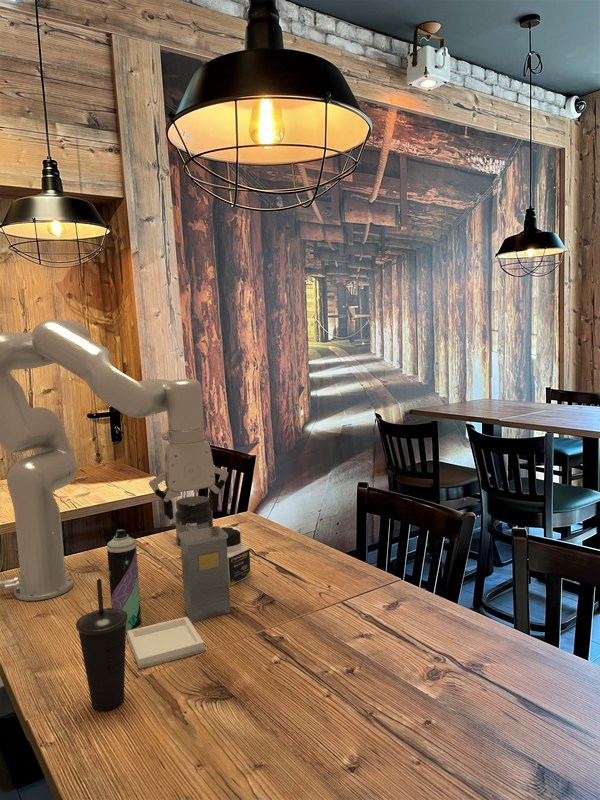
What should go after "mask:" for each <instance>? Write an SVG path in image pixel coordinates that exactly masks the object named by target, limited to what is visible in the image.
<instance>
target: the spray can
mask: <svg viewBox="0 0 600 800" xmlns="http://www.w3.org/2000/svg"><path fill="white" fill-rule="evenodd" d="M106 545H107V548H106V551H107V552H106V553H107V554H106V555H107V565H108V567H107V568H108V577H109V578H108V579H109V580H108V581H109V593H110V605H111V606H110V607H111V608H113V609H120V610H123V611H125V612H126V613H127V616H128V619H127V622H126V635H128V634H127V631H129V630H133V629H137V628H142V627H143V626H142V612H141V611H142V610H141V609H142V608H141V599H140V598H141V597H140V596H141V595H140V583H139V581H140V580H139V566H138V552H137V551H138V550H137V543H136V539H135V538H134V537H130V536H129V534H127V533H126V530H125V529H122V528H119V529H116V531H115V535H114V536H113V538H112V539H111V540H110V541H108V542H107V544H106Z"/></svg>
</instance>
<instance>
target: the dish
mask: <svg viewBox="0 0 600 800" xmlns="http://www.w3.org/2000/svg"><path fill="white" fill-rule="evenodd" d="M126 635H127V641H128V643H129V646H130V649H131V651H132V654H133V656H134V659H135V661H136V664H137V667H138V669H139V670H141V669H145V668H149V667H154V666H156V665H160V664H164V663H168V662H172V661H174V660H175V661H176V660H179V659H183V658H186V657H189V656H194V655H197V654H202V653H205V642H204V640H203V639H202V637H201V636H200V634H199V632H198V631H197V629H196V628H195V627H194V625H193V622H192V621H191V619H190V618H189V616H183V617H180V618H176V619H172V620H167V621H163V622H159V623H154V624H149V625H147V626H141V628H137V629H133V630H129V631H127V634H126Z"/></svg>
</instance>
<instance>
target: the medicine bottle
mask: <svg viewBox="0 0 600 800" xmlns="http://www.w3.org/2000/svg"><path fill="white" fill-rule="evenodd" d="M220 528H221V529H222V530H224V531H225V532H226V533H227V534H228V538H226V541H227V559H228V578H229V587H232V586H233V585H235V584H237V582H238V583H239V582H241V581H243V580H245V579H247V578H250V577H251V575H252V572H251V555H250V553H251V551H250V547H248V546H244V545H242V533H241V529H240V528H238V527H234V526H223V527H220Z"/></svg>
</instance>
